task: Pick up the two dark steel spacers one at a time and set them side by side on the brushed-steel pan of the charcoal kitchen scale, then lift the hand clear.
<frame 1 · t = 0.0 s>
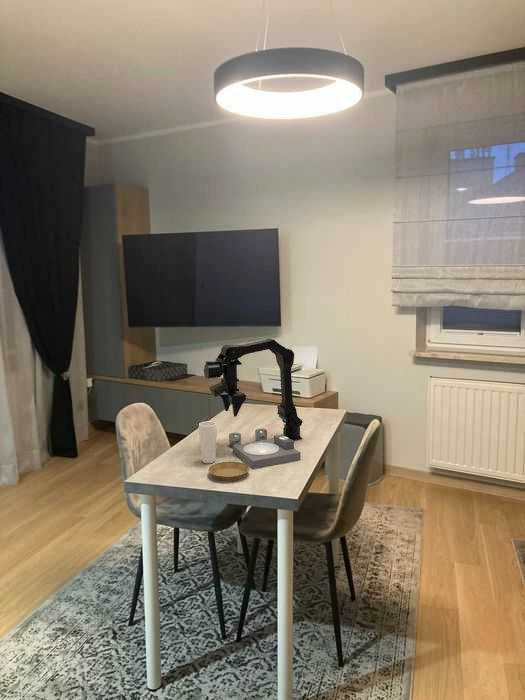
hand: (230, 413, 215), 15 cm above the table, tool pointing down, fingers open, 9 cm apart
spacer a: (235, 446, 220), on the table
plant saucer: (229, 475, 190), on the table
spacer b: (261, 441, 226), on the table
drinking glass: (208, 461, 203), on the table
kitchen scale: (265, 456, 208), on the table
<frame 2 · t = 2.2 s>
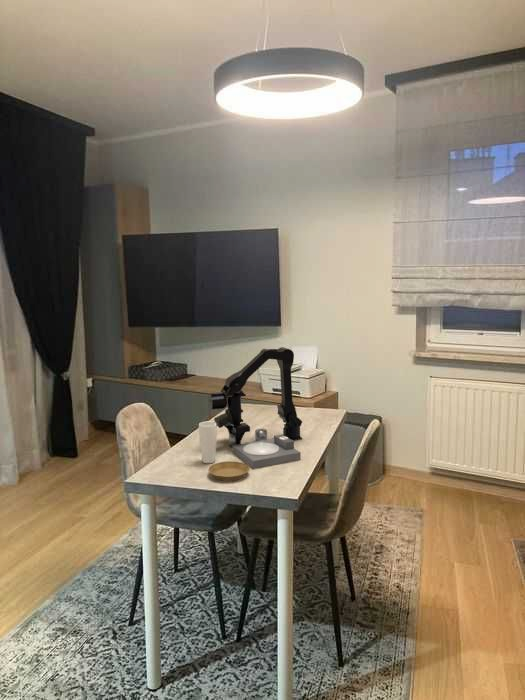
hand: (235, 443, 220), 1 cm above the table, tool pointing down, fingers closed on spacer a, 5 cm apart
spacer a: (235, 445, 220), on the table, touching gripper
everything else where it was.
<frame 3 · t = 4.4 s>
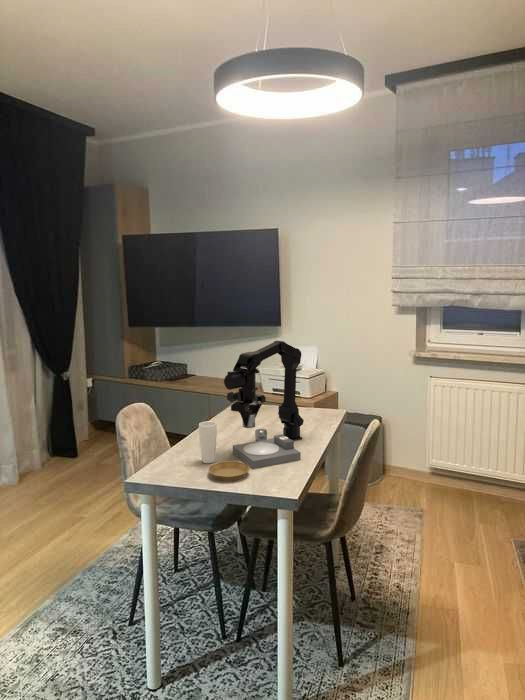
hand: (249, 423, 210), 12 cm above the table, tool pointing down, fingers closed on spacer a, 5 cm apart
spacer a: (248, 426, 210), point 11 cm above the table, touching gripper
everything else where it was.
when the fingers open (6 cm above the table, at t = 6.5 s): spacer a drops 1 cm, resting on kitchen scale.
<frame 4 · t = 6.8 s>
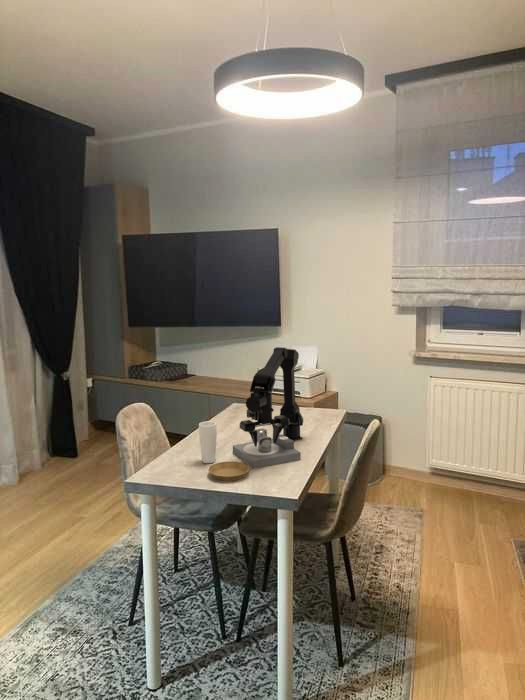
hand: (265, 444, 203), 6 cm above the table, tool pointing down, fingers open, 8 cm apart
spacer a: (265, 450, 203), point 4 cm above the table, touching kitchen scale
everything else where it was.
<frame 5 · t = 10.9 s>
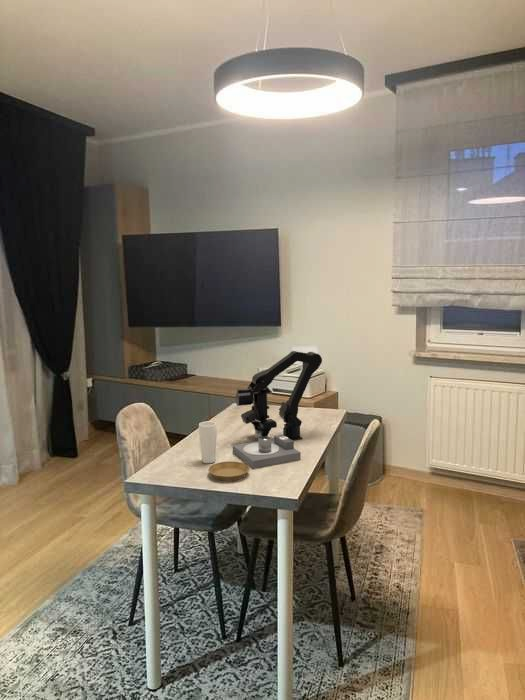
hand: (261, 439, 225), 1 cm above the table, tool pointing down, fingers closed on spacer b, 5 cm apart
spacer b: (261, 441, 226), on the table, touching gripper
everything else where it was.
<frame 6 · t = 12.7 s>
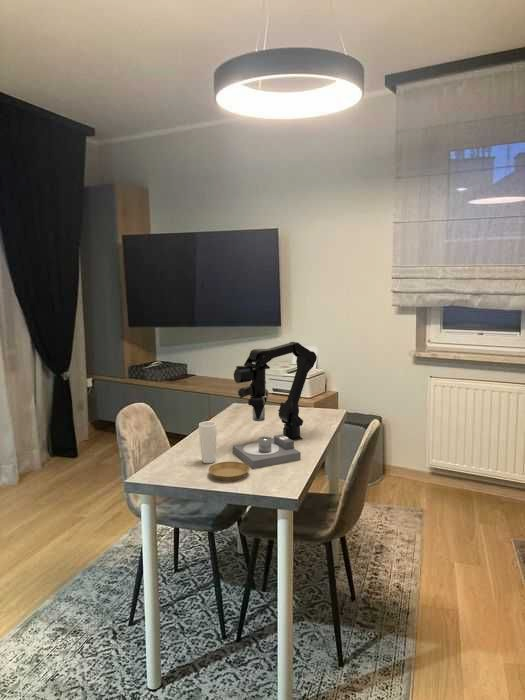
hand: (258, 417, 219), 12 cm above the table, tool pointing down, fingers closed on spacer b, 5 cm apart
spacer b: (258, 419, 219), point 11 cm above the table, touching gripper
everything else where it was.
when the fingers open (6 cm above the table, at t = 14.8 s): spacer b drops 1 cm, resting on kitchen scale.
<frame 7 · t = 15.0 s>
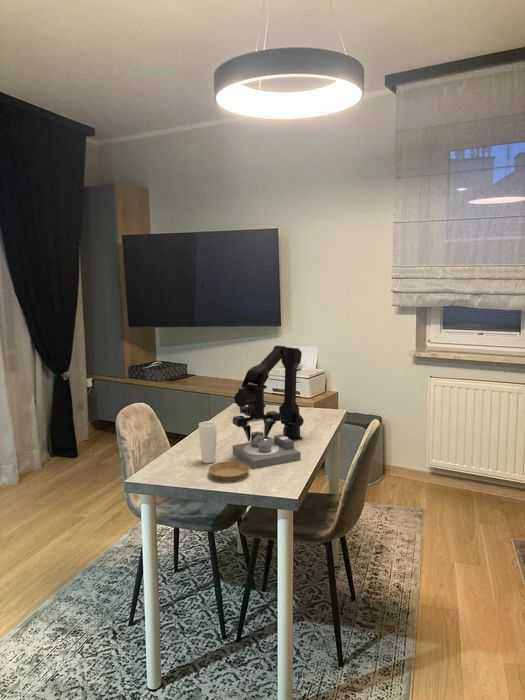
hand: (257, 439, 209), 6 cm above the table, tool pointing down, fingers open, 7 cm apart
spacer b: (257, 445, 210), point 3 cm above the table, touching kitchen scale
everything else where it was.
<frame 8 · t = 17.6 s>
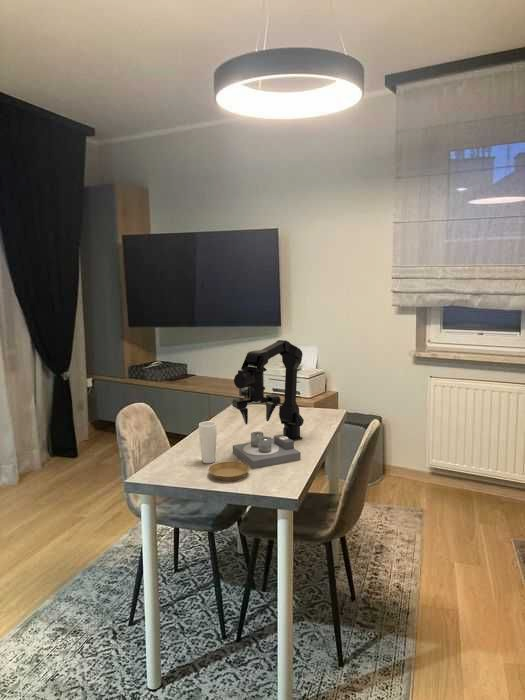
hand: (256, 422, 208), 13 cm above the table, tool pointing down, fingers open, 9 cm apart
nothing on the table moved.
at the end: spacer a inside the target area (3.4 cm from its centre), point 3.5 cm above the table; spacer b inside the target area (3.6 cm from its centre), point 3.5 cm above the table; the gripper is holding nothing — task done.
